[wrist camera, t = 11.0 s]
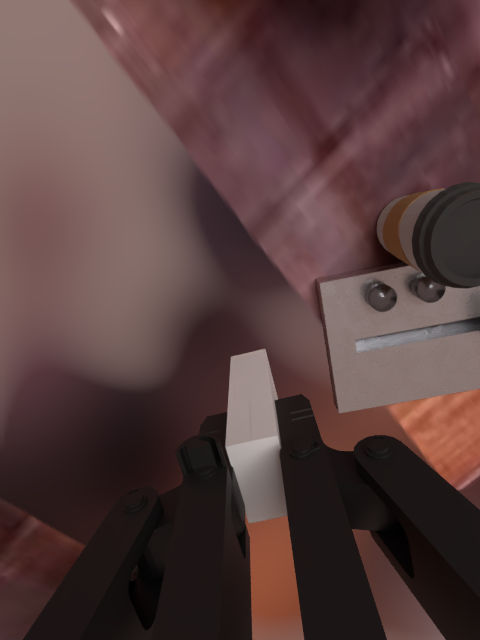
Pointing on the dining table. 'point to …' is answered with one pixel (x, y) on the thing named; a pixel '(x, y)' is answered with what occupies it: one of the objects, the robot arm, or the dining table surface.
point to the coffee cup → (436, 233)
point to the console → (398, 336)
